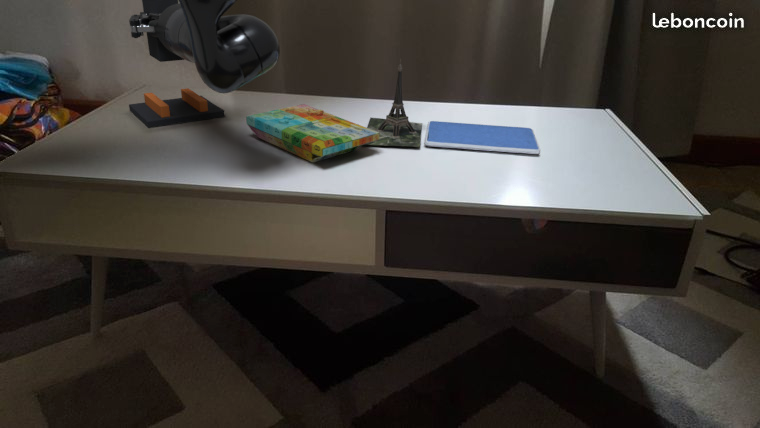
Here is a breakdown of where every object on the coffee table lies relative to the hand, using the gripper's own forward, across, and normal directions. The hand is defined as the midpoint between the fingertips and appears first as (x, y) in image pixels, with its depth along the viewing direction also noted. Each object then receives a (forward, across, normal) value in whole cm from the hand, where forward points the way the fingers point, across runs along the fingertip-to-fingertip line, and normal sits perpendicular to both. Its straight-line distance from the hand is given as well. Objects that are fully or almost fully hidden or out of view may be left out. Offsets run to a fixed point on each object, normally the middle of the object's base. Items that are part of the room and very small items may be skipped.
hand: (157, 18), depth 95 cm
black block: (-3, 0, +6) cm, 7 cm away
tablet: (-36, -43, +18) cm, 59 cm away
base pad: (+4, -2, +18) cm, 18 cm away
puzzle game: (-24, -16, +18) cm, 34 cm away
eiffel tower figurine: (-26, -32, +18) cm, 44 cm away
